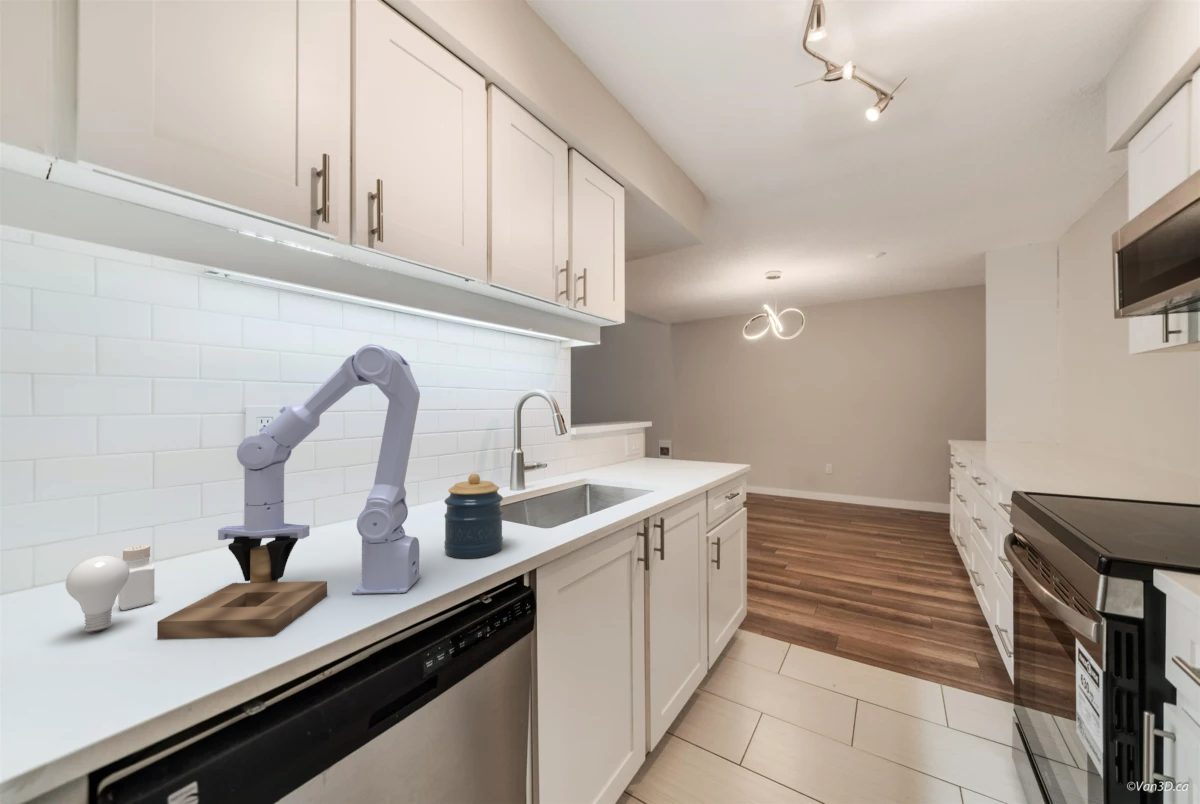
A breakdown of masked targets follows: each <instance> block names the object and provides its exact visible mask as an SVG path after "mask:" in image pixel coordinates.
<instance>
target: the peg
mask: <svg viewBox="0 0 1200 804" xmlns="http://www.w3.org/2000/svg"><path fill="white" fill-rule="evenodd" d="M266 582H279V579H278V580H276V581H272V579H271V561H270V555H269V552H268V549H267V546H266V544H261V545H260V546H256V547H253V548H251V549H250V581H249V583H266Z"/></svg>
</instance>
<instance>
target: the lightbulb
mask: <svg viewBox="0 0 1200 804" xmlns="http://www.w3.org/2000/svg"><path fill="white" fill-rule="evenodd" d="M129 575H130V570H129V566H128V564H127V563H126V562H125V561H124V560H123V558H121V557H119V556H116V555H110V554H104V555H97V556H92V557H89V558H87V559H84V560H83V561H81V562H79V563H78V564H77V565H75V566H74V567H73V568H72V569H71V570H70V572H68V575H67V577H66V579H65V589H66V591H67V593H68V595H69V596H70V597H72V598H73V599H74V601H76V602H78V604H79V606H80V609H81V611H82V613H83V614H84V631H85V632H90V633H97V632H102V631H104V630H105V629H107V628H108V627H109V626H111V625H112V618H113V616H112V615H113V612H112V610H113V607H114V605H115V603H116V599H117V598H118V593H119V592H120V590H121V589H122V588H123V587H124V585H125V584H126V582H127V581H128V578H129Z"/></svg>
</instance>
